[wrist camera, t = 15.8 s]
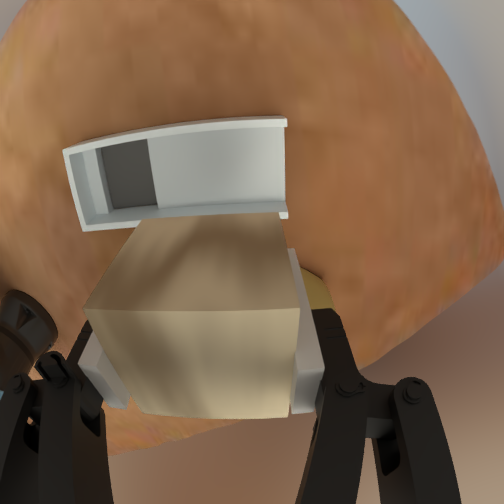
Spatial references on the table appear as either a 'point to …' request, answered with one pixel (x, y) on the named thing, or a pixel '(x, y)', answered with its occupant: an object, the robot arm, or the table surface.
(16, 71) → the table surface
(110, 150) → the channel
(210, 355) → the block
